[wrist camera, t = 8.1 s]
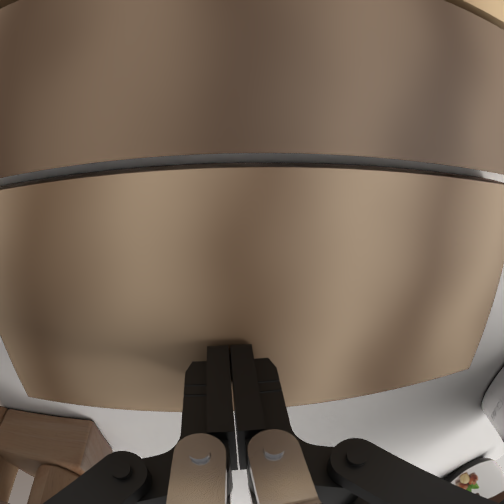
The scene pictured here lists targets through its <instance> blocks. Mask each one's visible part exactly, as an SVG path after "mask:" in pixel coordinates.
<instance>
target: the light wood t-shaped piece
mask: <svg viewBox="0 0 504 504" xmlns="http://www.w3.org/2000/svg"><path fill="white" fill-rule="evenodd" d="M111 453H112V448H111V447H110V445H109V444H108V443H107V441H106V440H105V438H104V437H103V435H102V434H101V432H100V431H99V429H98V428H97V426H96V425H95V423H94V422H93V421H90V420H82V419H72V418H64V417H56V416H49V415H42V414H36V413H30V412H24V411H19V410H14V409H9V410H8V409H7V408H6V407H2V406H0V504H9V503H8V500H9V497H10V493H11V490H12V487H13V483H14V481H15V477H16V475H17V472H18V469H21V470H22V471H24V472H26V473H28V474H29V475H31V476H33V477H35V478H34V482H33V485H32V488H31V492H30V495H29V499H28V503H27V504H43V503H44V502H46V501H47V500H48V499H50V498H51V497H52V496H54V495H55V494H57V493H58V492H59V491H61V490H62V489H63V488H65V487H66V486H68V485H69V484H70V483H72V482H73V481H74V480H76V479H77V478H78V477H80V476H81V475H82V474H83V473H85V472H86V471H87V470H89V469H90V468H91V467H93V466H94V465H95V464H96V463H98V462H99V461H100V460H102V459H103V458H104V457H105V456H107V455H108V454H111Z"/></svg>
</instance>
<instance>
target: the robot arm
mask: <svg viewBox="0 0 504 504" xmlns="http://www.w3.org/2000/svg"><path fill="white" fill-rule="evenodd" d="M230 352H231V370H232V386H233V399H234V411H235V422H236V433H237V444H238V455H239V465H240V470H242V469H247V477H248V490H249V495H250V500H251V504H500V503H497V502H495V501H492V500H490V499H487V498H485V497H482V496H480V495H477V494H475V493H472V492H470V491H468V490H465V489H463V488H461V487H459V486H456V485H454V484H452V483H450V482H447V481H445V480H443V479H441V478H439V477H437V476H435V475H432V474H430V473H428V472H426V471H424V470H422V469H420V468H418V467H416V466H414V465H412V464H410V463H408V462H406V461H404V460H402V459H400V458H399V457H397V456H395V455H393V454H391V453H389V452H387V451H385V450H384V449H382V448H380V447H378V446H376V445H374V444H373V443H371V442H369V441H367V440H364V439H359V438H352V439H347V440H344V441H342V442H340V443H339V444H337V445H336V446H335V447H327V446H317V445H312V444H308V443H306V442H304V441H302V440H301V439H299V438H298V437H297V436H296V435H295V434H294V432H293V431H292V429H291V426H290V421H289V417H288V413H287V409H286V405H285V400H284V396H283V392H282V388H281V383H280V379H279V375H278V371H277V367H276V366H275V365H274V364H273V363H272V362H271V360H270V359H269V358H256V359H254V355H253V349H252V344H240V345H230ZM482 409H483V411H484V413H485V414H486V416H487V417H488V419H489V420H490V422H491V423H492V425H493V426H494V428H495V429H496V431H497V432H498V434H499V435H500V437H501V438H502V440H503V442H504V367H503V368H502V369H501V371H500V372H499V373H498V375H497V376H496V377H495V379H494V380H493V382H492V383H491V385H490V386H489V388H488V390H487V392H486V394H485V396H484V398H483V401H482ZM231 470H238V466H237V453H236V439H235V426H234V415H233V402H232V390H231V376H230V362H229V348H228V345H222V346H207V361H192V363H191V364H190V366H189V367H188V369H187V370H186V372H185V382H184V397H183V410H182V426H181V436H180V439H179V441H178V443H177V444H176V445H175V446H174V447H173V448H172V449H171V450H169V451H168V452H166V453H164V454H161V455H157V456H153V457H148V458H144V459H141V458H140V457H139V456H138V455H136V454H134V453H131V452H127V451H117V452H113V453H111V454H108V455H107V456H105V457H104V458H103V459H102V460H100V461H99V462H98V463H96V464H95V465H94V466H93V467H91V468H90V469H89V470H87V471H86V472H85V473H83V474H82V475H81V476H80V477H78V478H77V479H76V480H74V481H73V482H72V483H70V484H69V485H68V486H66V487H65V488H63V489H62V490H61V491H59V492H58V493H57V494H55V495H54V496H52V497H51V498H50V499H48V500H47V501H46V502H44V503H43V504H231V491H232V488H233V483H232V471H231Z"/></svg>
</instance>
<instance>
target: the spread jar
mask: <svg viewBox="0 0 504 504" xmlns="http://www.w3.org/2000/svg"><path fill="white" fill-rule="evenodd" d="M443 480H445V481H447V482H450V483H452V484H454V485H456V486H459V487H461V488H463V489H465V490H468V491H470V492H472V493H475V494H477V495H480V496H482V497H485V498H487V499H490V500H492V501H495V502H497V503H500V504H504V472H503V470H502V469H501V467H500V466H499V465H498V464H497V462H496V461H494V460H492V459H490V458H477V459H474V460H472V461H470V462H468V463H466V464H464V465H463V466H461V467H460V468H458V469H456V470H455V471H453V472H452V473H451V474H449V475H448V476H447V477H445V478H444V479H443Z"/></svg>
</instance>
